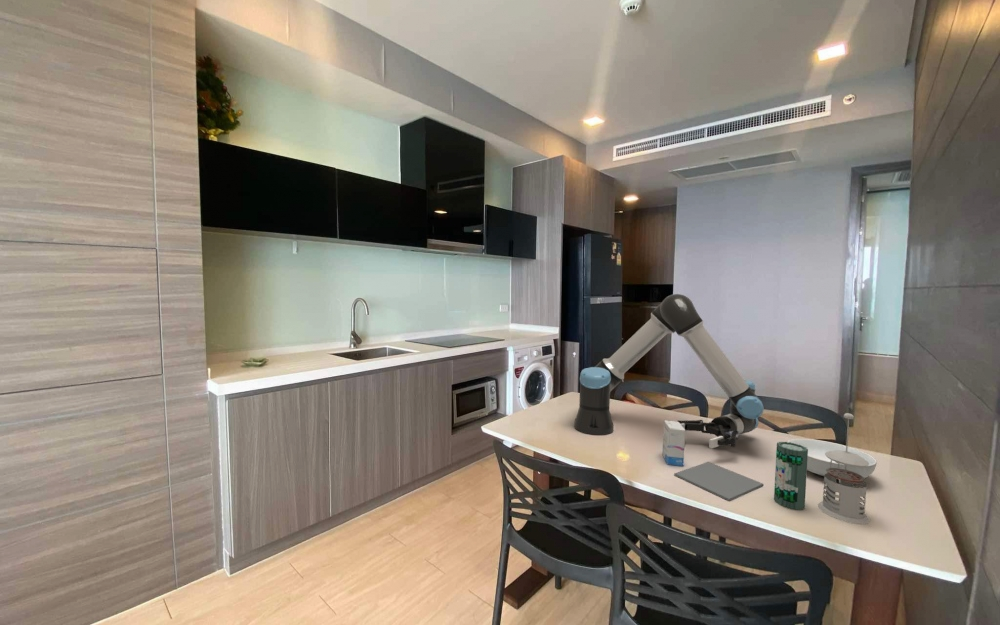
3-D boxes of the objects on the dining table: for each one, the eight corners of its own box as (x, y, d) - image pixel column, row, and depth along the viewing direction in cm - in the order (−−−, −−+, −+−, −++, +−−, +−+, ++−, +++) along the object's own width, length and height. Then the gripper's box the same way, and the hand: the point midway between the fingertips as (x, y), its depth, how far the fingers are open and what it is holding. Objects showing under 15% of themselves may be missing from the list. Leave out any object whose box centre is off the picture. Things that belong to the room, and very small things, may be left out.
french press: (825, 517, 93) (831, 416, 91) (809, 495, 103) (814, 403, 102) (878, 528, 89) (885, 422, 87) (856, 503, 99) (862, 408, 98)
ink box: (684, 466, 119) (686, 429, 118) (667, 465, 120) (668, 428, 119) (677, 455, 127) (678, 420, 127) (661, 454, 128) (662, 419, 128)
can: (768, 497, 102) (771, 441, 101) (790, 496, 102) (793, 441, 101) (787, 510, 96) (790, 451, 95) (810, 509, 96) (813, 451, 95)
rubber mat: (674, 475, 113) (674, 473, 113) (708, 463, 122) (708, 461, 122) (729, 501, 99) (729, 499, 99) (763, 485, 108) (763, 483, 108)
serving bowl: (862, 467, 121) (863, 446, 120) (886, 497, 103) (888, 472, 102) (781, 452, 131) (782, 433, 131) (790, 477, 113) (791, 454, 113)
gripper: (764, 449, 127) (728, 462, 116) (693, 426, 149) (657, 435, 138) (765, 427, 127) (729, 438, 116) (694, 407, 148) (658, 415, 138)
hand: (690, 436), depth 127 cm, fingers open, 13 cm apart
